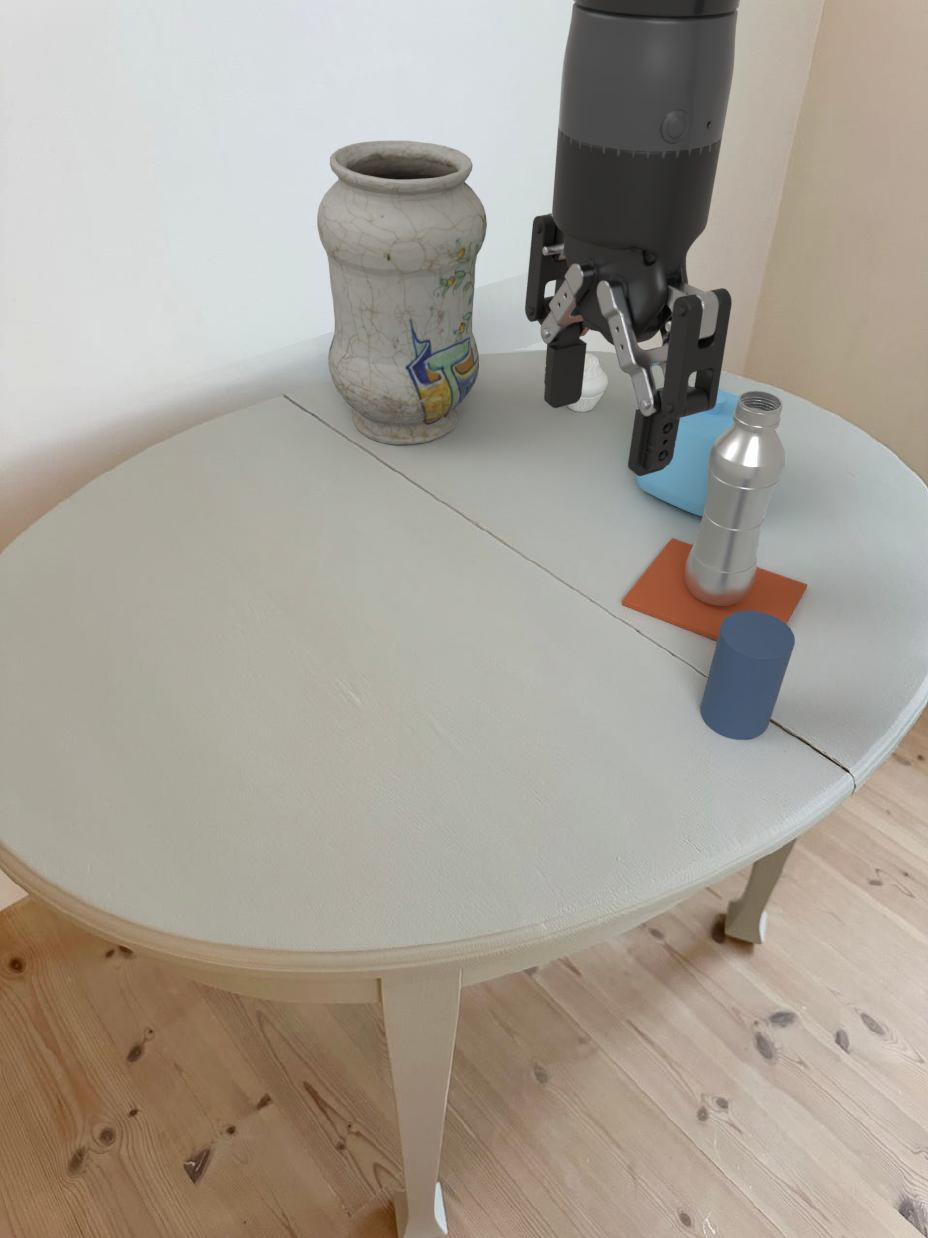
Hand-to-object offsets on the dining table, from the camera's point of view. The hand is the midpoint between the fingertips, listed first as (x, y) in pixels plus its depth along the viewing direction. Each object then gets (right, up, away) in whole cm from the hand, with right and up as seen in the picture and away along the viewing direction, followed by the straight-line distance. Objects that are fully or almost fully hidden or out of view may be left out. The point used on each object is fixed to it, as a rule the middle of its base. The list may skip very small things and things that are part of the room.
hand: (602, 434), depth 54 cm
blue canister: (+15, -18, +25) cm, 34 cm away
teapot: (+17, +4, +52) cm, 55 cm away
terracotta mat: (+16, -8, +37) cm, 41 cm away
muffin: (+7, +16, +66) cm, 68 cm away
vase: (-15, +14, +62) cm, 65 cm away
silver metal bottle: (+16, -8, +37) cm, 41 cm away
